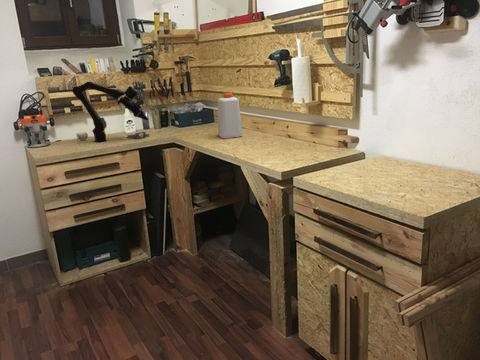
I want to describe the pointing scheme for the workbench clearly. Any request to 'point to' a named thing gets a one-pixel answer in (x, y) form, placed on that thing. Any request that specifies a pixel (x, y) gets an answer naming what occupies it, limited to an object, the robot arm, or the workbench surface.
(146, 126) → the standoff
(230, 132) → the plastic bottle
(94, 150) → the workbench surface
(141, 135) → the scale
